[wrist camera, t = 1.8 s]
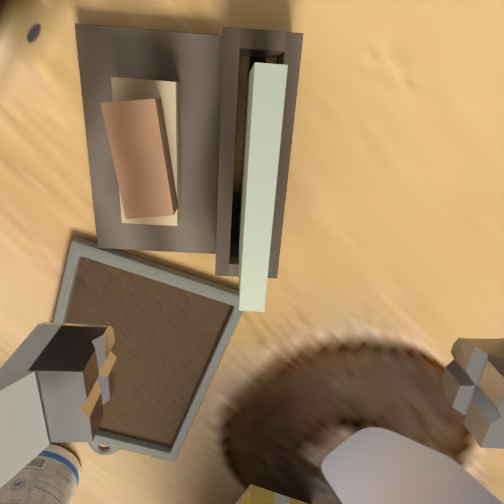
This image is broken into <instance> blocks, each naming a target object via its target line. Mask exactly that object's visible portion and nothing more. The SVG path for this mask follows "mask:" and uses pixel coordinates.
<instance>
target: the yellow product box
mask: <svg viewBox="0 0 504 504" xmlns="http://www.w3.org/2000/svg"><path fill="white" fill-rule="evenodd" d="M235 504H308V503H305V502H302V501H299V500H296V499H293V498H290V497H287V496H284V495H281V494H278V493H276V492H273V491H270V490H267V489H264V488H261V487H258V486H255V485H252V484H250V486H249V487H248V488H247V489H246V491H245V492H244V493H243V494H242V496H241V497H240V498H239V499H238V500H237V502H236V503H235Z"/></svg>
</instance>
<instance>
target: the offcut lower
mask: <svg viewBox="0 0 504 504" xmlns="http://www.w3.org/2000/svg"><path fill="white" fill-rule="evenodd" d="M111 85H112V99H113V102H118V101H131V100H144V99H157V98H161V99H162V105H163V111H164V118H165V124H166V131H167V137H168V144H169V150H170V156H171V163H172V169H173V176H174V182H175V189H176V195H177V201H178V208H177V210H176V212H175V214H174V215H172V216H159V217H147V218H134V219H126V217H125V213H124V208H123V203H122V199H121V194H120V207H121V220H122V223H132V224H150V225H169V226H178V223H179V221H180V219H181V106H180V82H171V81H158V80H145V79H132V78H119V77H111ZM119 193H120V190H119Z"/></svg>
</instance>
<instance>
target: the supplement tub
mask: <svg viewBox="0 0 504 504" xmlns="http://www.w3.org/2000/svg"><path fill="white" fill-rule="evenodd" d="M80 477H81V467H80V464H79V461H78V460H77V458H76V457H75V456H74V455H73V454H72V453H71V452H69V451H68V450H66V449H65V448H63V447H60V446H57V445H54V444H49V446H48V447H47V448H45V449H44V450H43V451H42V452H41V453H40V454H39V455H37V456H36V457H35V458H34V459H33V460H32V461H31V462H30V463H28V464H27V465H26V466H25V467H24V468H23V469H22V470H20V471H19V472H18V473H17V474H16V475H15V476H14V477H13V478H11V479H10V480H9V481H8V482H7V483H6V484H5V485H3V486H2V487H1V488H0V504H70V502H71V500H72V497H73V495H74V492H75V490H76V487H77V485H78V482H79V480H80Z"/></svg>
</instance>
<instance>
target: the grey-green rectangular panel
mask: <svg viewBox="0 0 504 504" xmlns="http://www.w3.org/2000/svg"><path fill="white" fill-rule="evenodd" d="M287 69H288V65H283V64H270V63H258V62H255V63H254V65H253V67H252V69H251V70H250V72H249V74H248V82H247V99H246V116H245V133H244V150H243V167H242V184H241V201H240V218H239V311H258V312H264V308H265V298H266V287H267V277H268V266H269V256H270V246H271V235H272V225H273V215H274V204H275V194H276V183H277V173H278V163H279V152H280V142H281V131H282V121H283V111H284V100H285V90H286V79H287Z"/></svg>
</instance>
